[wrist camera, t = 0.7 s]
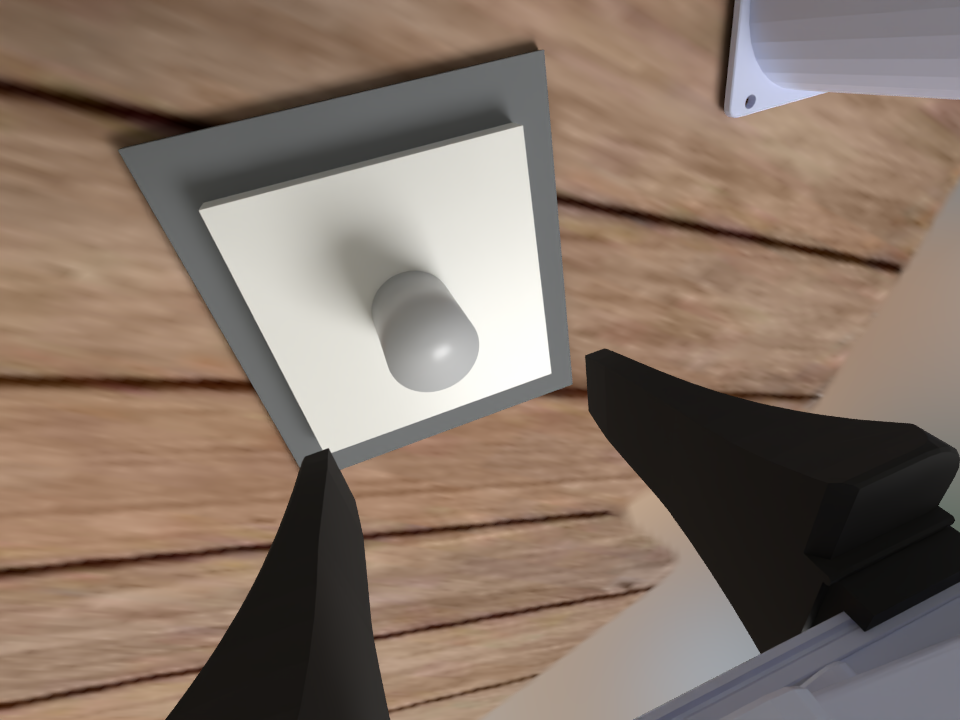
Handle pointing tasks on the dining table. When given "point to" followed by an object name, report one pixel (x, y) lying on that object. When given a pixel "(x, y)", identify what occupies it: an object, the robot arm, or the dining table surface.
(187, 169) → the mat
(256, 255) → the lid
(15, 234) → the dining table surface
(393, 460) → the dining table surface
